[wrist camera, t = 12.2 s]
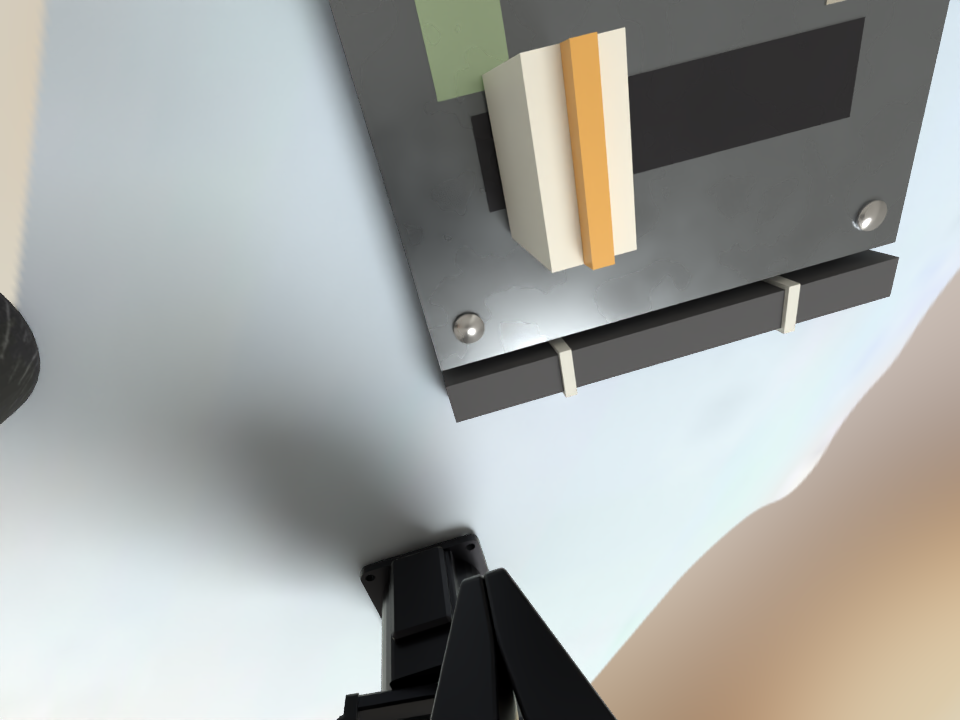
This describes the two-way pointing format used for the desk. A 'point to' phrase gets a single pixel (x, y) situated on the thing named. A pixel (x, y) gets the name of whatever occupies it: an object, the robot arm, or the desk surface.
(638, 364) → the cord bundle inner
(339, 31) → the breaker panel
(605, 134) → the lever
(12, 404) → the travel mug
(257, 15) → the desk surface
